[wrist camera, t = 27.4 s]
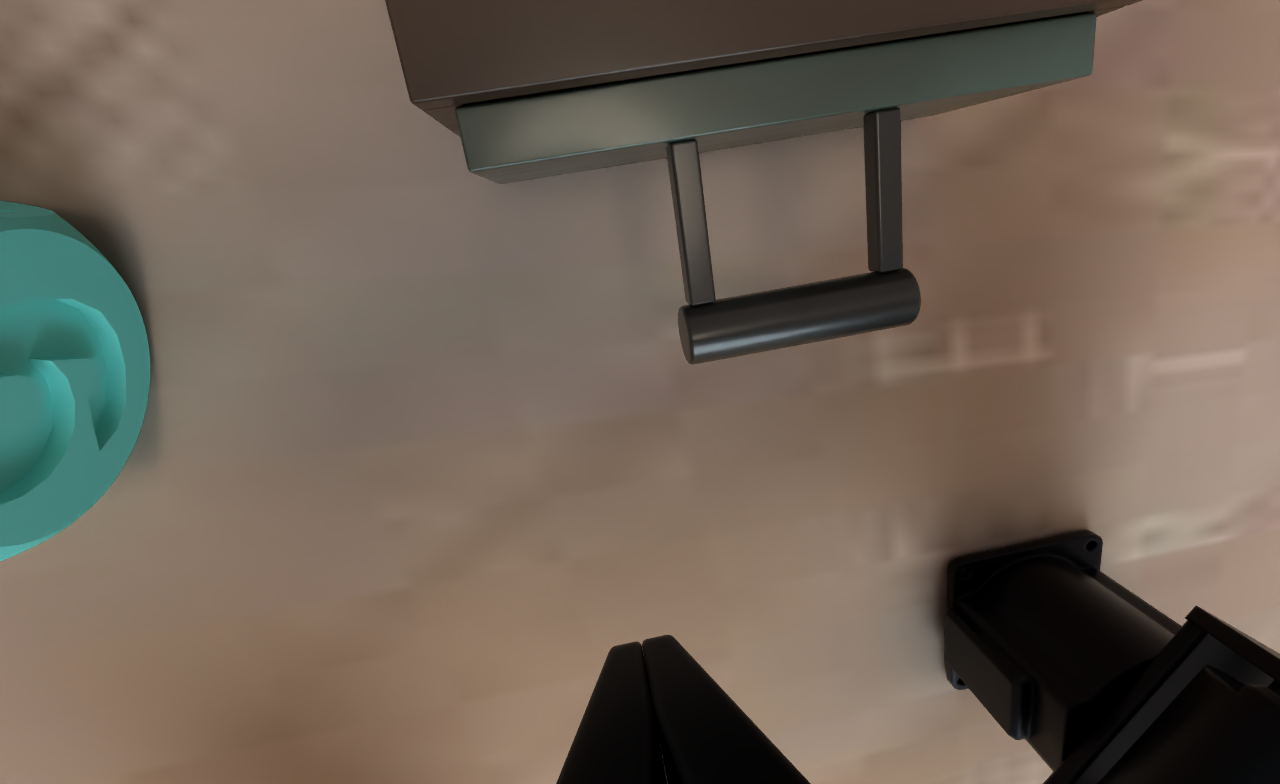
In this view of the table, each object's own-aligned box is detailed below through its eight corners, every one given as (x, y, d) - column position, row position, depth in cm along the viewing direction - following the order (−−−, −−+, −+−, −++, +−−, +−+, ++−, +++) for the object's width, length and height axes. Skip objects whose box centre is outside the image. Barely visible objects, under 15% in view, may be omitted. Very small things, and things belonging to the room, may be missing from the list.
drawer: (933, 274, 20) (1079, 300, 14) (533, 346, 19) (521, 404, 13) (933, -334, 15) (1153, -659, 9) (398, -280, 14) (288, -603, 8)
